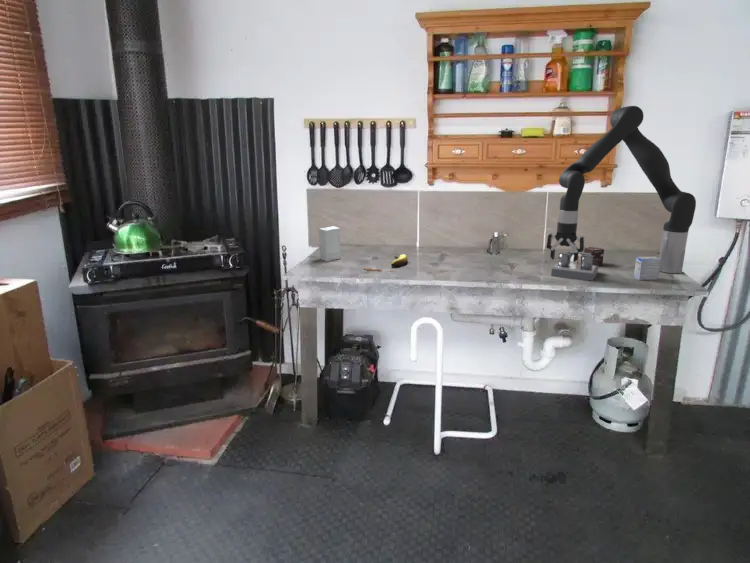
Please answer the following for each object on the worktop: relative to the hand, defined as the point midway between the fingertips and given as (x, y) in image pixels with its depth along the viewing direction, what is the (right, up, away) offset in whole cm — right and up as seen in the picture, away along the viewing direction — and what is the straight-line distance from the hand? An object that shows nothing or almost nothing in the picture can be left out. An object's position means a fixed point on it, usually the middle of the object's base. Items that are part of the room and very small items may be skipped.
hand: (563, 260), depth 217 cm
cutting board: (-67, -1, +22) cm, 70 cm away
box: (+19, -1, +17) cm, 26 cm away
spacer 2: (+8, -3, -4) cm, 9 cm away
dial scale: (+5, -6, +2) cm, 8 cm away
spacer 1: (0, -2, +1) cm, 2 cm away
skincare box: (-99, +1, +29) cm, 103 cm away
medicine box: (+31, -8, -5) cm, 33 cm away
